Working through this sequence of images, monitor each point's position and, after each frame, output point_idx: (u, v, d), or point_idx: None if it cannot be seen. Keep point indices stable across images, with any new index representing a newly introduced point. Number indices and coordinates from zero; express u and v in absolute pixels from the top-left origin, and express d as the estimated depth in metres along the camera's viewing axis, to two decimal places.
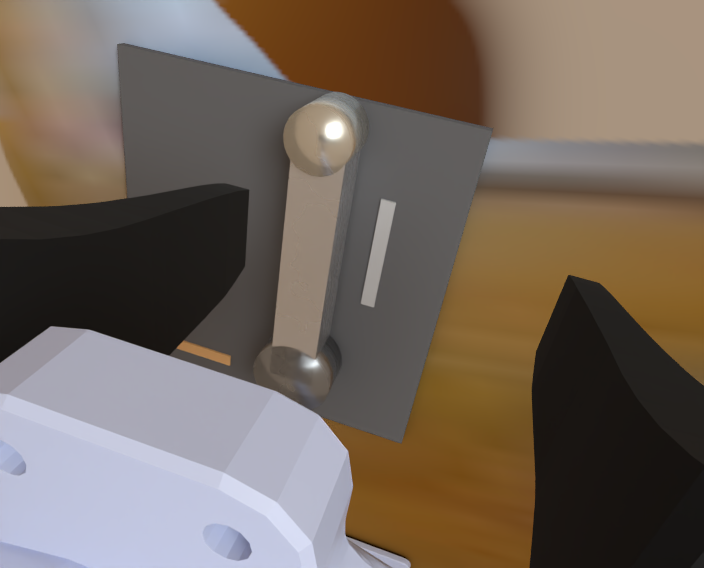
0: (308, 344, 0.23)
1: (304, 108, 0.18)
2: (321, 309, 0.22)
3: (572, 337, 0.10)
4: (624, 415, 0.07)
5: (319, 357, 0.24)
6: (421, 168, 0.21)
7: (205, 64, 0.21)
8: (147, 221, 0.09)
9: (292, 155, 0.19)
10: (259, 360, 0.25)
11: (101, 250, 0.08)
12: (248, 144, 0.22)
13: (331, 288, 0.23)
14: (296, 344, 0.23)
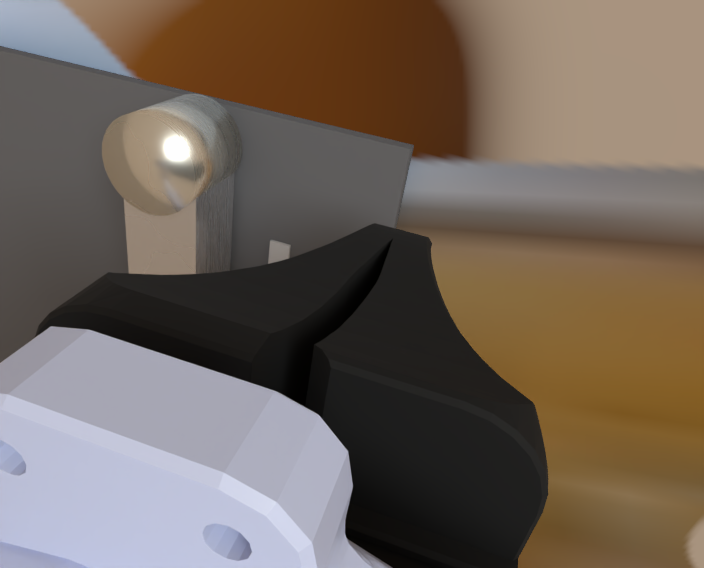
0: None
1: (123, 117, 0.12)
2: None
3: None
4: None
5: None
6: (319, 200, 0.15)
7: (24, 55, 0.15)
8: (349, 279, 0.08)
9: (119, 185, 0.13)
10: None
11: (325, 318, 0.07)
12: (93, 165, 0.16)
13: None
14: None
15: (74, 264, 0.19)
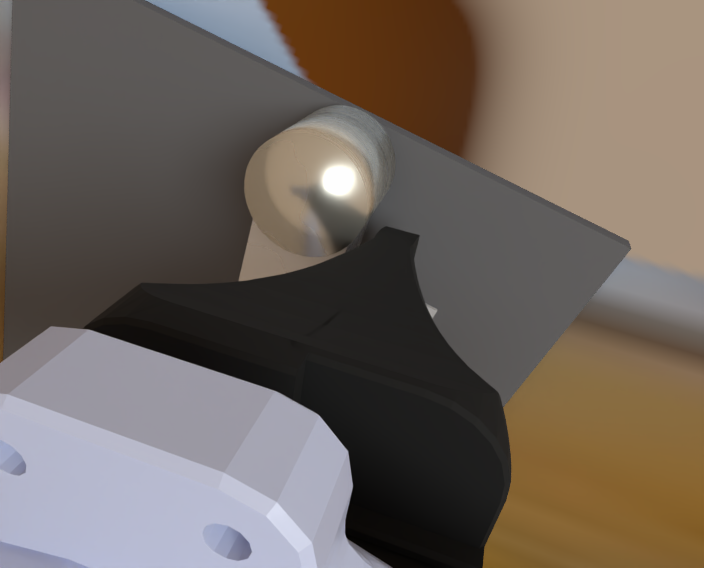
0: None
1: (289, 136, 0.10)
2: None
3: None
4: None
5: None
6: (494, 273, 0.13)
7: (167, 16, 0.12)
8: (375, 286, 0.08)
9: (257, 212, 0.11)
10: None
11: None
12: (216, 165, 0.13)
13: None
14: None
15: (150, 264, 0.15)
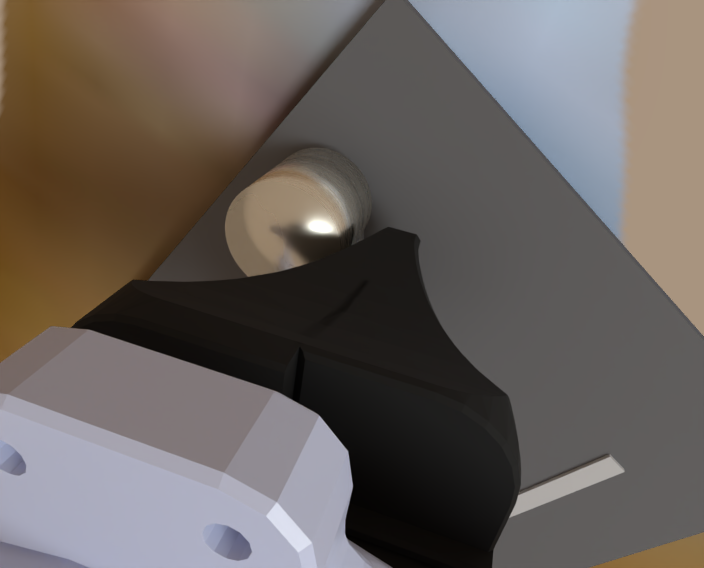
0: None
1: (249, 189, 0.10)
2: None
3: None
4: None
5: None
6: (699, 463, 0.14)
7: (524, 137, 0.11)
8: (368, 285, 0.08)
9: (247, 267, 0.11)
10: None
11: None
12: (484, 280, 0.13)
13: None
14: None
15: None
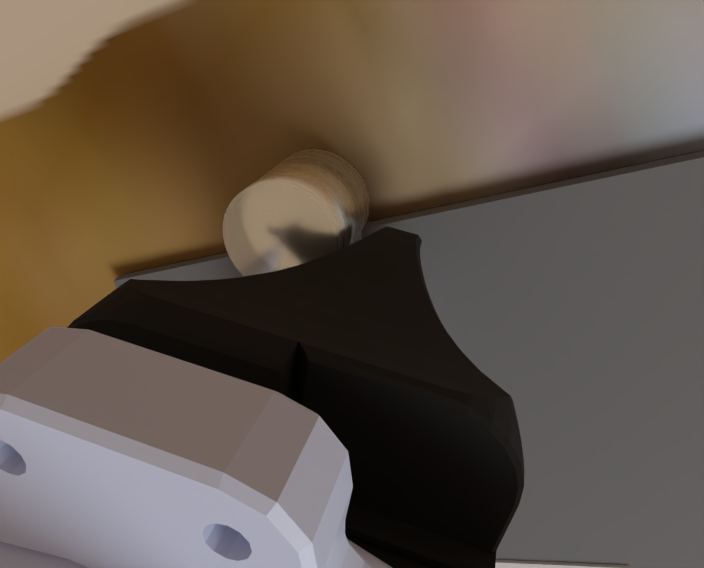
0: None
1: (246, 191, 0.10)
2: None
3: None
4: None
5: None
6: None
7: None
8: (366, 284, 0.08)
9: (245, 268, 0.11)
10: None
11: None
12: (637, 404, 0.13)
13: None
14: None
15: None
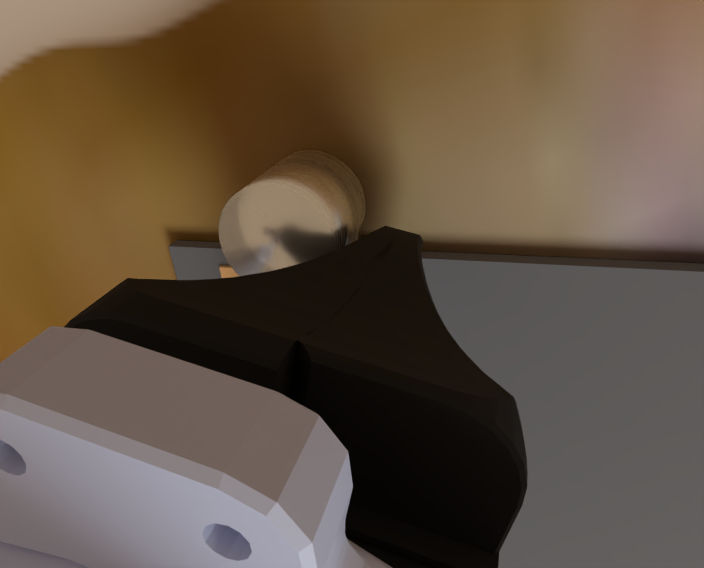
0: None
1: (241, 193, 0.10)
2: None
3: None
4: None
5: None
6: None
7: None
8: (364, 283, 0.08)
9: (241, 270, 0.11)
10: None
11: None
12: (677, 477, 0.14)
13: None
14: None
15: (523, 423, 0.14)
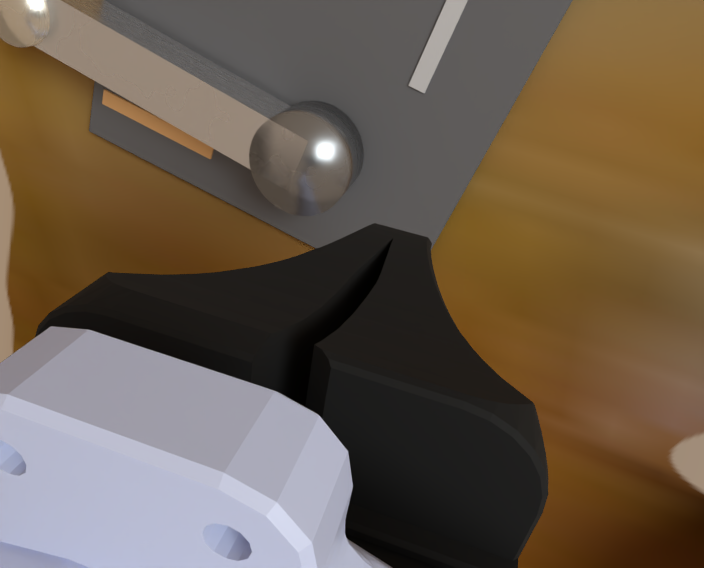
0: (246, 118, 0.18)
1: None
2: (198, 81, 0.18)
3: None
4: None
5: (275, 115, 0.18)
6: None
7: None
8: (350, 279, 0.08)
9: (25, 41, 0.19)
10: (269, 196, 0.20)
11: (326, 318, 0.07)
12: None
13: (199, 67, 0.19)
14: (246, 135, 0.19)
15: None
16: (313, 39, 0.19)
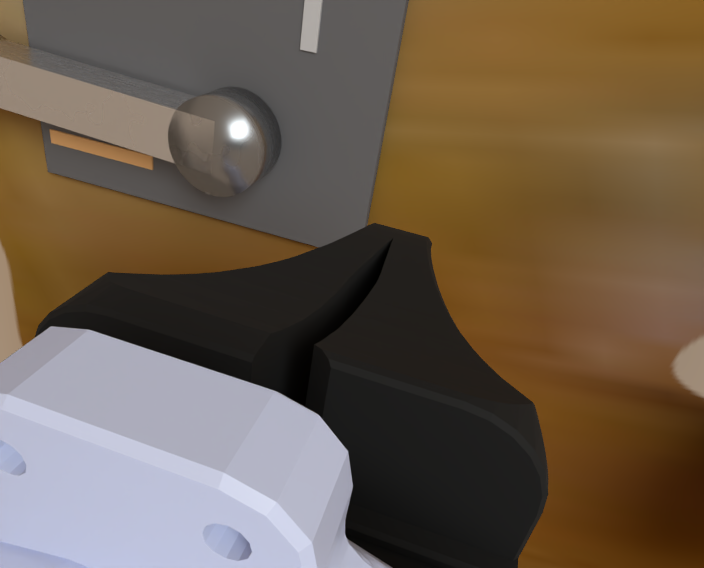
0: (157, 115, 0.20)
1: None
2: (109, 91, 0.20)
3: None
4: None
5: None
6: None
7: None
8: (349, 279, 0.08)
9: None
10: (198, 184, 0.21)
11: (325, 318, 0.07)
12: None
13: (112, 81, 0.20)
14: (162, 131, 0.20)
15: None
16: (207, 30, 0.20)
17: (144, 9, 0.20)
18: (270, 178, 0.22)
